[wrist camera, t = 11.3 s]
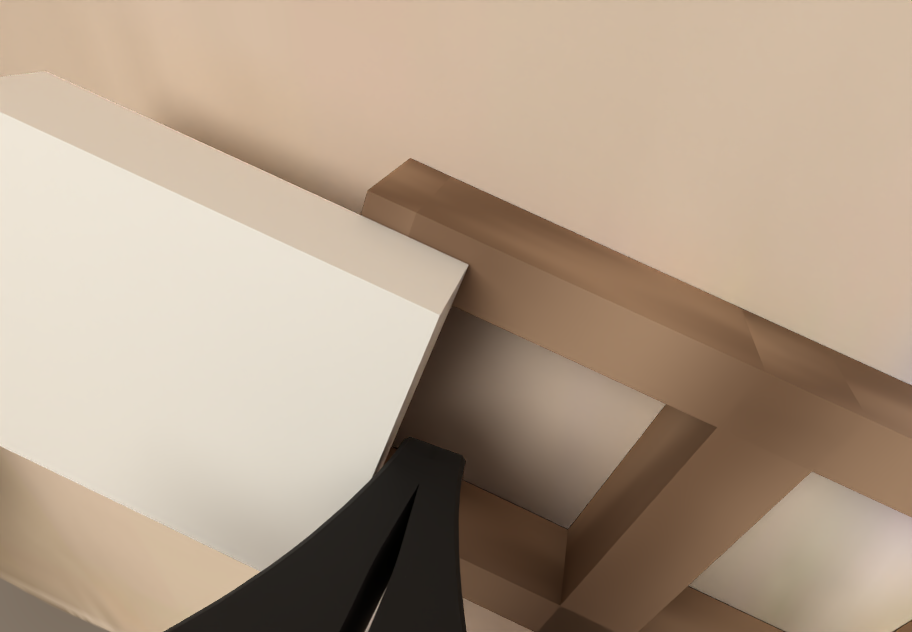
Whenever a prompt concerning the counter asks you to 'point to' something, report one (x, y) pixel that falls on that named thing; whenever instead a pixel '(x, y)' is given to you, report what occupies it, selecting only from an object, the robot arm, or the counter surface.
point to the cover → (198, 324)
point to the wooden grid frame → (669, 435)
